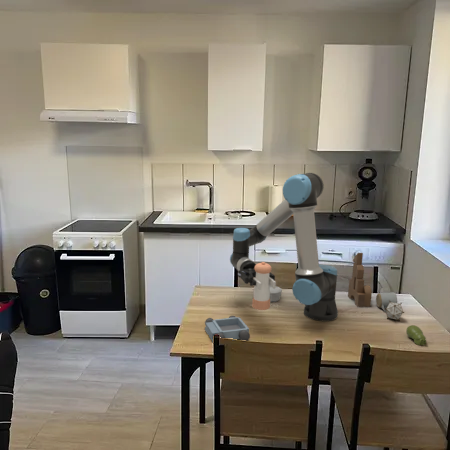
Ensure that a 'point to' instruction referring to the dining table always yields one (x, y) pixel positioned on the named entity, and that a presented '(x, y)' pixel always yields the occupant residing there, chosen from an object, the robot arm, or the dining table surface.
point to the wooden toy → (359, 284)
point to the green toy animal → (416, 335)
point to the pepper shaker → (262, 287)
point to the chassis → (227, 328)
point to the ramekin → (275, 294)
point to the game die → (394, 310)
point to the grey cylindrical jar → (385, 299)
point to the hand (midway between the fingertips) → (267, 285)
